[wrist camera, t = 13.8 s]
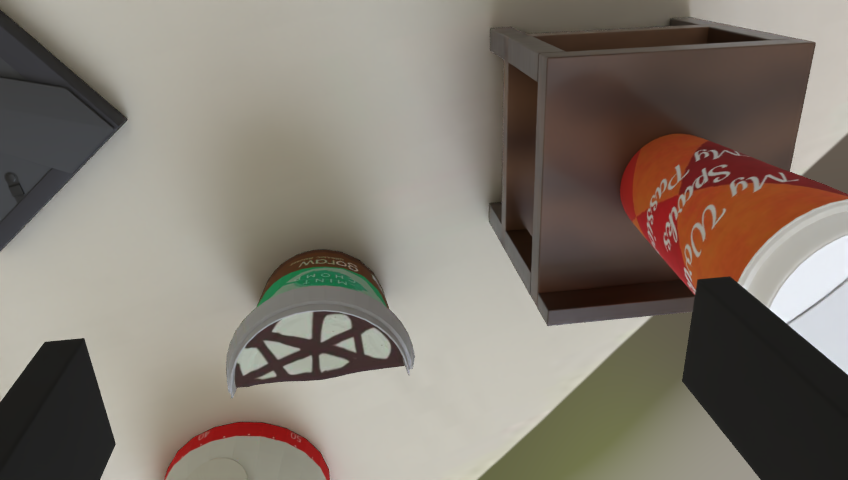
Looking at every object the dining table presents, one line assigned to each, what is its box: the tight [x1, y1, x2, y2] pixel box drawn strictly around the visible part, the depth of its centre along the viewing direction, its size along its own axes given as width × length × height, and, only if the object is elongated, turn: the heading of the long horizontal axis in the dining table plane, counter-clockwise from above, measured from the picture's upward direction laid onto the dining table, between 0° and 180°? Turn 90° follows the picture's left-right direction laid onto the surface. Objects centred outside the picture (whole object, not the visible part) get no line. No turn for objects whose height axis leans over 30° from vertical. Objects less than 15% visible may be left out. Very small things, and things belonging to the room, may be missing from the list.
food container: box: [226, 250, 415, 398], centre depth 45 cm, size 12×6×10 cm, turn 94°
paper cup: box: [620, 134, 848, 374], centre depth 29 cm, size 8×8×14 cm
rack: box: [489, 17, 816, 326], centre depth 40 cm, size 14×14×15 cm
